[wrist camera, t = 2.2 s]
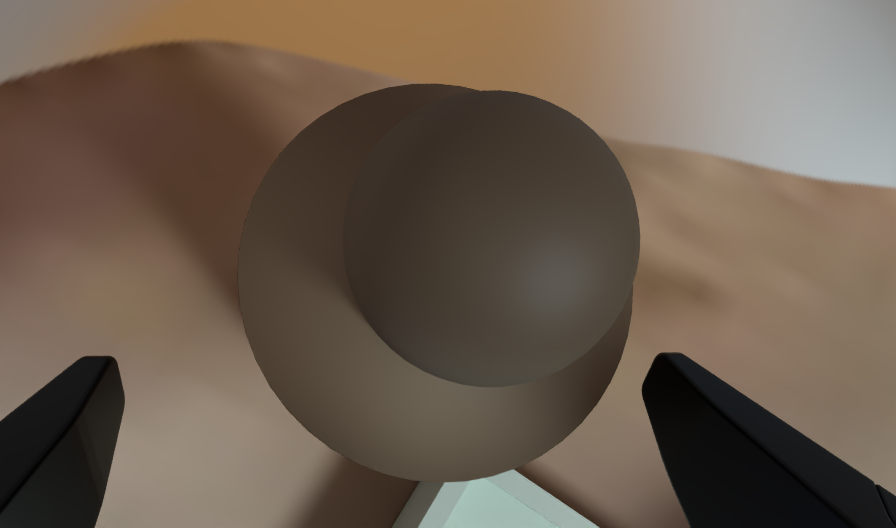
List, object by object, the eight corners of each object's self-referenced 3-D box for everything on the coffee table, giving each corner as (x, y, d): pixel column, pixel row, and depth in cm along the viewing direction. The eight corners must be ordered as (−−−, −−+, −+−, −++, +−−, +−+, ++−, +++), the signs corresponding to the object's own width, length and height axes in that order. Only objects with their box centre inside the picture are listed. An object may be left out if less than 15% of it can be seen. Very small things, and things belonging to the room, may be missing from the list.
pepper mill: (385, 447, 18) (665, 715, 4) (251, 358, 18) (-11, 274, 3) (468, 317, 19) (902, 147, 5) (346, 231, 19) (449, -210, 5)
